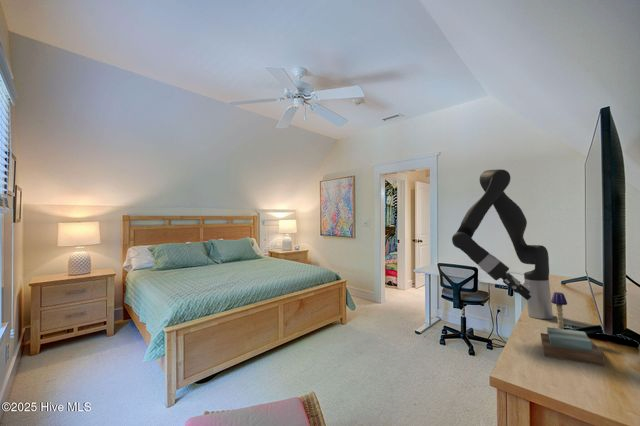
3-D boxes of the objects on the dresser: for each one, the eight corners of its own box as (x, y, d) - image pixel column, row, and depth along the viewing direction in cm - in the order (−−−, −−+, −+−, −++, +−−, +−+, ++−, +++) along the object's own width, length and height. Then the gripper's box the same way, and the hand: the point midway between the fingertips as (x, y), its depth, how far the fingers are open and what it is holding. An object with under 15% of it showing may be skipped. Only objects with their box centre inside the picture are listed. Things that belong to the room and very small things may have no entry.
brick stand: (541, 341, 103) (539, 324, 103) (593, 348, 95) (591, 330, 95) (545, 356, 91) (543, 337, 92) (604, 366, 83) (601, 345, 84)
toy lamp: (564, 334, 107) (559, 291, 109) (574, 339, 103) (569, 293, 104) (551, 335, 108) (546, 291, 109) (560, 339, 103) (555, 294, 104)
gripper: (498, 262, 112) (537, 293, 104) (500, 258, 123) (535, 286, 116) (485, 275, 114) (522, 306, 107) (487, 270, 126) (521, 298, 119)
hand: (529, 296), depth 112 cm, fingers open, 8 cm apart
